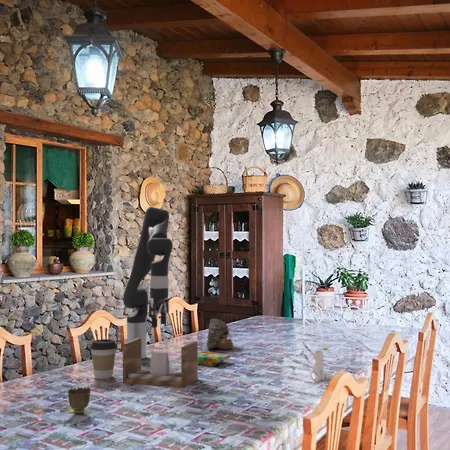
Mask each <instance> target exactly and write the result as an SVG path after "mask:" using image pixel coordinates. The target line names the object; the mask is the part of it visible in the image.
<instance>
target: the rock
mask: <svg viewBox="0 0 450 450" xmlns="http://www.w3.org/2000/svg"><path fill="white" fill-rule="evenodd" d="M207 333H208V334H207V335H208V336H207V340H206V348H207V351H208V350H209V351H212V350H213V349H215V348H217V349H220V350H225V351H226V350H231V349H232V348H233V347H234V344H233V342H232V339H230V338H229V339H228V335H230V331H229V325H227V324H226V322H225V321H223V320H221V319H219V318H211V319H210V320H209V325H208V332H207Z"/></svg>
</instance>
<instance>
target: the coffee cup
mask: <svg viewBox="0 0 450 450" xmlns="http://www.w3.org/2000/svg"><path fill="white" fill-rule="evenodd" d="M117 348H118V344H117V343H116V341H115V340H114V339H107V338H105V339H95V340H92V342H91V344H90V345H89V349H90V352H91V359H92V366H93V368H92V369H93V374H94V375H93V376H94V379H97V380H108V379H111V378H113V374H114V367H115V359H116V352H117Z"/></svg>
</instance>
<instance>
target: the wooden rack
mask: <svg viewBox="0 0 450 450" xmlns="http://www.w3.org/2000/svg"><path fill="white" fill-rule="evenodd" d="M197 350H198V341H196V340H194V341H192V342H190V343H187V344H186V345H184V346H181V350H180V353H181V354H180V358H181V359H180V360H181V361H180V365H181V366H180V367H181V372H174V371H169V376H158V375H150V369H149V370H148V369H142V359H141V338H136V339H134V340H131V341H128V342H126V343H125V342H124V343H122V383H128V384H140V385H141V384H142V385H143V384H144V385H153V386H163V387H164V386H165V387H177V388H178V387H179V388H186V387H187V386H189V385H190V384H192V383H194V382H195V381H197V380H198V371H199V370H198V365H199V364H198V360H197Z"/></svg>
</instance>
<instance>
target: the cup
mask: <svg viewBox="0 0 450 450" xmlns="http://www.w3.org/2000/svg"><path fill="white" fill-rule="evenodd" d="M67 390H68V391H67V394H68V395H67V396H68V403H69V406H70V408H71V409H72V410H73V414H75V415H83V414H85V411H86V410H85V409H86V408H87V407H88V406H89V404H90V400H91V399H90V397H91V388H90V387H86V386H84V387H82V386H81V387H80V386H78V387H77V389H76V387H74V388H69V389H67Z"/></svg>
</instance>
